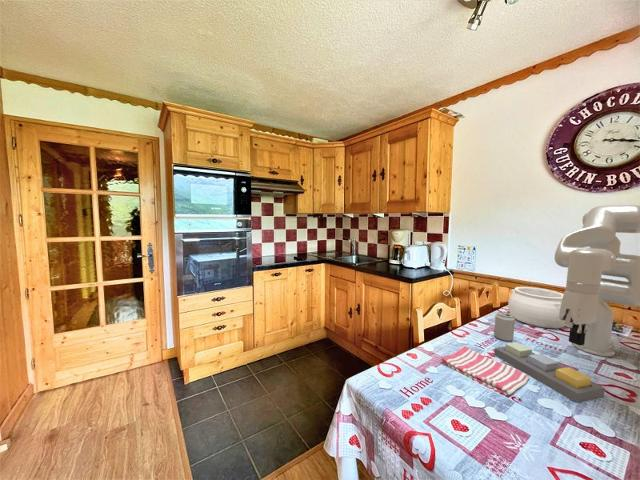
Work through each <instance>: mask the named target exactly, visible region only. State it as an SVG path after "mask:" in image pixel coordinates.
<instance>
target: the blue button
mask: <svg viewBox="0 0 640 480" xmlns="http://www.w3.org/2000/svg"><path fill="white" fill-rule="evenodd" d="M528 363H530V364H532V365H534V366H536V367H537V368H539V369H541V370H543V371H545V372H549V371H555V370H556V369H558V365H559V366H560V362H559V361H557V360H555V359H553V358H551V357H548V356H547V355H544V354H542V353H535V354H534V355H528Z"/></svg>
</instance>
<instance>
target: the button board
mask: <svg viewBox="0 0 640 480" xmlns="http://www.w3.org/2000/svg"><path fill="white" fill-rule="evenodd" d="M534 354H536V353H535V352H533V351H532V355H534ZM493 355H494V356H495V357H497V358H498V359H500V360H502V361H504V362H506V363H507V364H509V365H510V366H511V367H513V368H515V369H517V370H519V371H521V372H523V373H525V374H526V375H528V376H530V377H531V378H533V379H535V380H536V381H538V382H540V383H542V384H543V385H545V386H547V387H549V388H550V389H552V390H554V391H555V392H558V393H559V394H560V395H562V396H565V397H566V398H567V399H569V400H571V401H573V402H574V403H582V402H586V401H592V400H595V399H599V398H604V397H605V390H606V387H604V386H602V385H600V384H598V383H596V382H594V381H592V380H591V383H590V386H589V387H584V388H580V389H577V388H575V387H573V386H571V385H569V384H567V383H565V382H564V381H562V380H560V379H558V378H556V377H555V375H556V370H555V371H549V372H545V371H543V370H541V369H539V368H537V367H536V366H534V365H532V364H530V363H528V357H524V358H519V357H517V356H515V355H513V354H511V353H509V352H507V351H506V350H505V346H500V347H499V346H498V347H494V351H493ZM561 368H565V367H563V366H562V365H560V364H559V365H558V369H561Z"/></svg>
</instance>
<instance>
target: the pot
mask: <svg viewBox="0 0 640 480" xmlns="http://www.w3.org/2000/svg"><path fill="white" fill-rule="evenodd" d="M563 295H564V293H562V292H558V291H555V290H552V289H551V290H550V289H546V288H540V287H531V286H516V287H515V288H514V289H511V295H510V296H509V298H508V301H507V302H508V303H507V304H508V305H507V306H508V307H507V308H508V311H509V313H510V314H512V315H514V316H513V317H514V318H515V320H517V321H519V322H521V323H524V324H527V325H530V326H535V327H538V328H539V327H540V328H546V329H561V328H564V327H565V326H564V323H565V320H561V319H560V318H559V313H560V307H561V302H562V298H563Z"/></svg>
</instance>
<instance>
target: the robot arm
mask: <svg viewBox="0 0 640 480" xmlns="http://www.w3.org/2000/svg"><path fill="white" fill-rule="evenodd" d="M582 225H583V226H582V228H579V229H578V230H577V229H576V230H575V231H573V232H570V233H568V234H567V235H564V237H562V238H561V239H560V241H559V242H558V245H557V248H556V250H555V252H554V262H555V263H556V265H558V266H559V267H562V268H567V272H566V273H567V274H566V284H565V290H564V293H563V294H564V295H563V298H562V302H561V307H560V313H559V318H560V319H561V320H565V323H564V327H566V328H567V327H568V331H569V333H568V334H569V335H568V342H570V343H572V346H573V347H575V348H577V349H578V350H580V351H582V352H586V353H588V354H592V355H595V356H600V357H605V358H607V357H609V358H610V357H613V356H615V353H616V352H615V350H613V349H612V348H611V345H615V343H616V342H615V340H613V339H612V334H613V333H612V331H613V323H614V315H615V314H614V311H613V309H612V308H611V307H610V305H609V304H608V303H613V304H618V305H622V306H628V307H629V306H631V307H639V306H640V255H634V254H625V253H624V254H623V253H620V250H621V240H620V239H619V238H618V236H616V234H618V233H620V234H640V205H637V204H636V205H635V204H627V205H626V204H621V205H619V204H618V205H617V204H615V205H613V204H612V205H609V204H608V205H600V206H599V205H598V206H595V207H593V208H591V209H590V210H589V211H588V212H587V213H585V214H584V215H583V216H582ZM602 276H607V277H614V278H615V277H616V278H624V279H625V280H619V279H612V278H611V279H610V278H604V277H602Z"/></svg>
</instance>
